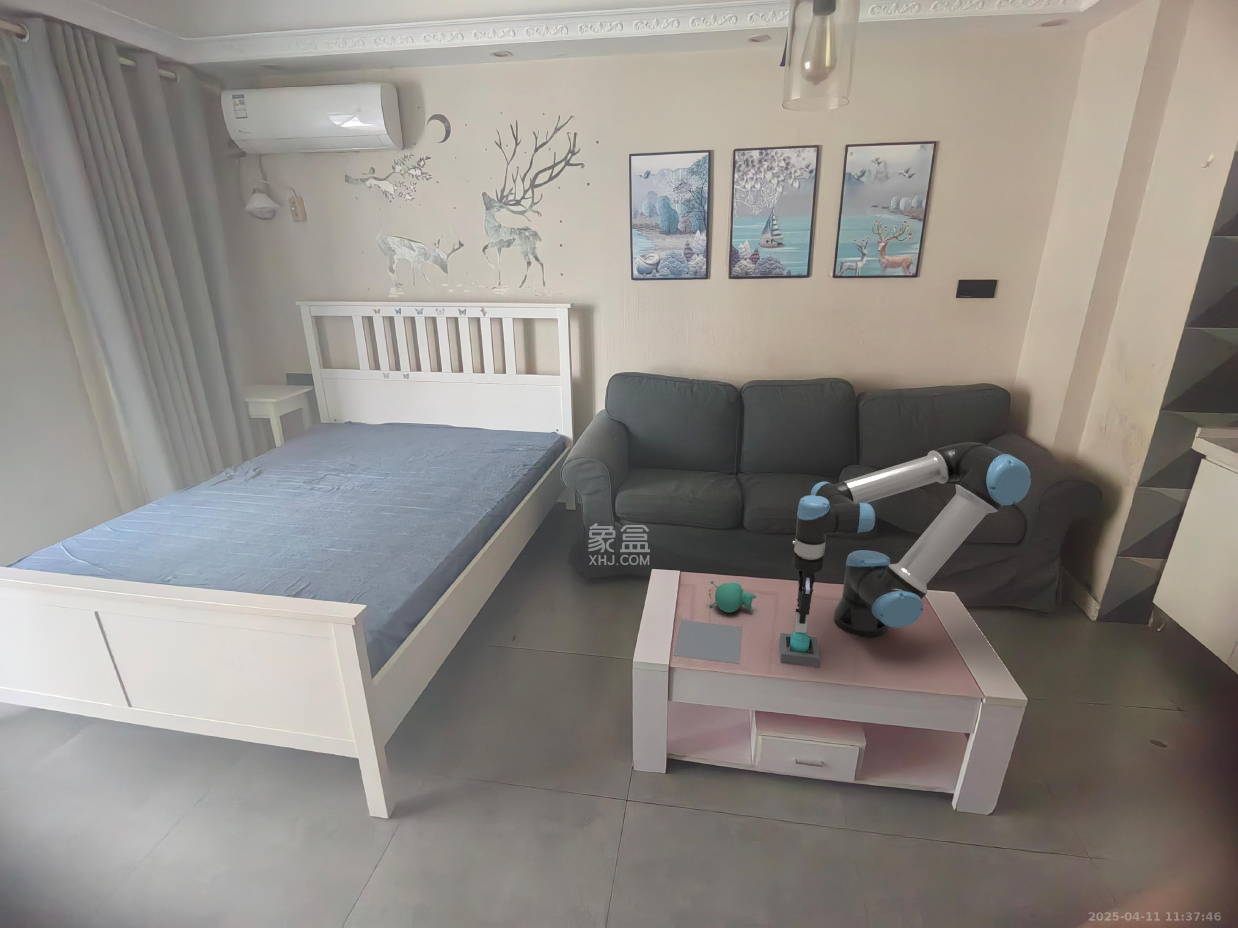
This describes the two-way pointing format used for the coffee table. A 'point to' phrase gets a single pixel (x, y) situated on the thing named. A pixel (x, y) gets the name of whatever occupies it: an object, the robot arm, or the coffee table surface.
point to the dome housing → (797, 657)
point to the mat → (708, 641)
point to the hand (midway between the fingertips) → (800, 630)
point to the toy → (731, 597)
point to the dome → (799, 642)
